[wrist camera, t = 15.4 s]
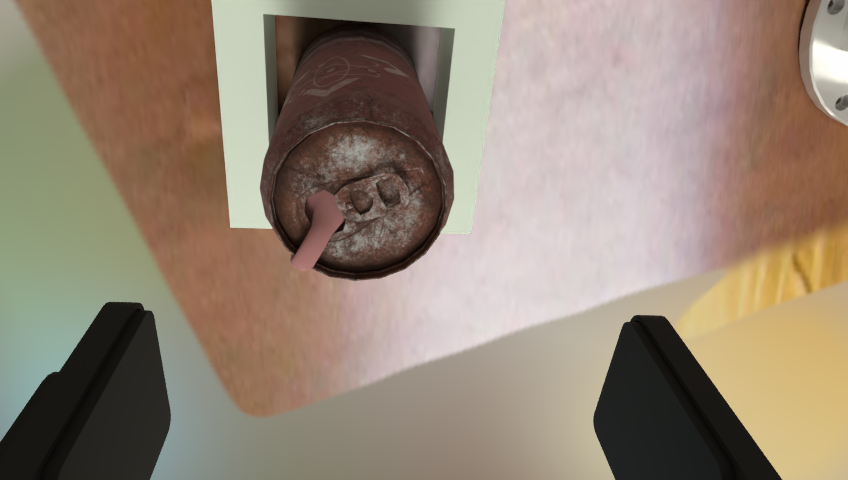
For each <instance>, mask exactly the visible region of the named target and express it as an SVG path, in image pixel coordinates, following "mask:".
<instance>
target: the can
mask: <svg viewBox="0 0 848 480" xmlns="http://www.w3.org/2000/svg"><path fill="white" fill-rule="evenodd" d="M260 193H261V198H262V203H263V207H264V212H265V216H266V218H267V220H268V221H269V223H270V225H271V226H272V228H273V230H274V231H275V233H276V235H277V236H278V238H279V240H280V241H281V242H282V243H283V245H284V246H285V248H286V249H287V250H288V251H289V252H290V253H291V259H290V262H291V265H292V266H293V267H294V268H296V269H298V270H300V271H306V270H308V269H310V268H311V269H314V270H316V271H318V272H320V273H322V274H325V275H327V276H329V277H334V278H341V279H347V280H353V281H359V280H369V279H379V278H383V277H386V276H388V275H391V274H394V273H396V272H399V271H402V270H404V269H406V268H407V267H409V266H410V265H411V264H413V263H414V262H415V261H417V260H418V259H419V258H421V257H422V256H423V255H425V254H426V252H427V251H428V250H429V248H430V247H431V246H432V244H433V243H434V241H435V240H436V239H437V237H438V236H439V235H440V232H441V231H442V229H443V228H444V226H445V225H446V223H447V220H448V217H449V214H450V210H451V207H452V204H453V201H454V171H453V169H452V166H451V164H450V161H449V158H448V156H447V153H446V150H445V148H444V145H443V143H442V140H441V137H440V135H439V132H438V129H437V127H436V124H435V122H434V119H433V116H432V114H431V111H430V108H429V106H428V103H427V101H426V98H425V95H424V93H423V90H422V87H421V85H420V82H419V80H418V77H417V74H416V72H415V69H414V67H413V64H412V61H411V59H410V56H409V55H408V54H407V53H406V51H405V50H404V49H403V48H402V46H401V45H400V44H399V43H398V41H396V40H395V39H393V38H392V37H390V36H389V35H387V34H386V33H384V32H383V31H381V30H379V29H375V28H371V27H367V26H363V25H350V26H339V27H337V28H335V29H332V30H330V31H328V32H325V33H323V34H321V35H320V36H319V37H318V38H317V39H316V40H315V41H314V42H312V43H311V44H310V45H309V46H308V47H307V48H306V50H305V52H304V54H303V56H302V58H301V60H300V62H299V63H298V65H297V68H296V71H295V74H294V77H293V80H292V82H291V85H290V88H289V91H288V94H287V96H286V99H285V102H284V105H283V108H282V110H281V113H280V116H279V119H278V122H277V124H276V127H275V130H274V133H273V136H272V138H271V141H270V144H269V147H268V150H267V152H266V155H265V158H264V162H263V169H262V175H261V182H260Z"/></svg>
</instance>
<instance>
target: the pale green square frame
mask: <svg viewBox="0 0 848 480" xmlns="http://www.w3.org/2000/svg"><path fill="white" fill-rule="evenodd" d="M504 6H505V0H212V12H213V24H214V36H215V48H216V60H217V72H218V84H219V96H220V108H221V120H222V132H223V144H224V156H225V168H226V180H227V192H228V204H229V216H230V227H231V228H267V229H273V228H272V226H271V225H270V223H269V221H268V220H267V218H266V216H265V212H264V207H263V203H262V198H261V193H260V182H261V175H262V169H263V162H264V158H265V155H266V152H267V150H268V147H269V144H270V141H271V138H272V136H273V133H274V130H275V127H276V124H277V122H278V119H279V116H278V87H277V58H276V28H275V15H284V16H298V17H311V18H324V19H337V20H351V21H364V22H377V23H390V24H403V25H417V26H430V27H441V37H440V47H439V57H438V67H437V78H436V88H435V98H434V108H433V119H434V122H435V124H436V127H437V129H438V132H439V135H440V137H441V140H442V143H443V145H444V148H445V150H446V153H447V156H448V158H449V161H450V164H451V166H452V169H453V171H454V201H453V204H452V207H451V210H450V214H449V217H448V220H447V223H446V225H445V226H444V228H443V229H442V231H441V232H440V233H451V234H471V232H472V225H473V218H474V211H475V204H476V197H477V190H478V184H479V177H480V170H481V163H482V156H483V149H484V143H485V136H486V129H487V122H488V115H489V108H490V101H491V95H492V88H493V81H494V74H495V67H496V60H497V53H498V47H499V40H500V33H501V26H502V19H503V12H504Z"/></svg>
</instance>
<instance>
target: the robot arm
mask: <svg viewBox="0 0 848 480" xmlns="http://www.w3.org/2000/svg"><path fill="white" fill-rule="evenodd" d="M799 62H800V71H801V77H802V80H803V82H804V85H805V88H806V91H807V93H808V95H809V96H810V98H811V99H812V100H813V102H814V103H815V105H816V106H817V107H818V108H819V109H820V110H821V111H823V112H824V113H825V114H826V115H827V116H829V117H830V118H832V119H834V120H836V121H838V122H841V123H843V124H845V125H847V126H848V0H810V2H809V4H808V7H807V10H806V14H805V18H804V21H803V25H802V29H801V34H800V46H799ZM170 420H171V414H170V406H169V401H168V395H167V389H166V383H165V378H164V371H163V366H162V360H161V355H160V349H159V342H158V337H157V331H156V326H155V319H154V315H153V313H152V311H145V310H144V308H143V306H142V304H141V303H131V302H108V303H106V304H105V305H104V306H103V307H102V309H101V310H100V312H99V313H98V315H97V316H96V318H95V319H94V321H93V322H92V324H91V325H90V327H89V328H88V330H87V331H86V333H85V334H84V336H83V337H82V339H81V341H80V342H79V343H78V345H77V346H76V348H75V349H74V351H73V352H72V354H71V355H70V357H69V358H68V360H67V361H66V363H65V364H64V366H63V367H62V369H61V370H60V371H59V372H53V373H51V374H49V375H48V376H47V377H46V378H45V379H44V380H43V381H42V383H41V384H40V386H39V387H38V389H37V390H36V391H35V393H34V394H33V396H32V397H31V399H30V400H29V402H28V403H27V404H26V406H25V407H24V409H23V410H22V412H21V413H20V414H19V416H18V417H17V419H16V420H15V422H14V423H13V425H12V426H11V428H10V429H9V430H8V432H7V433H6V435H5V436H4V438H3V439H2V441H1V442H0V480H150V478H151V475H152V473H153V470H154V467H155V465H156V462H157V460H158V457H159V454H160V452H161V449H162V447H163V444H164V441H165V439H166V436H167V434H168V431H169V427H170ZM593 422H594V429H595V432H596V435H597V438H598V440H599V442H600V444H601V447H602V449H603V451H604V454H605V456H606V459H607V461H608V463H609V466H610V468H611V470H612V473H613V475H614V477H615V480H782V479H781V477H780V476H779V475H778V473H777V472H776V470H775V469H774V468H773V466H772V465H771V463H770V462H769V461H768V460H767V458H766V456H765V455H764V454H763V452H762V451H761V449H760V448H759V447H758V445H757V444H756V443H755V441H754V440H753V438H752V437H751V436H750V434H749V433H748V431H747V430H746V429H745V427H744V426H743V424H742V423H741V422H740V420H739V419H738V417H737V416H736V415H735V413H734V412H733V410H732V409H731V408H730V407H729V405H728V403H727V402H726V401H725V399H724V398H723V397H722V395H721V394H720V392H719V391H718V389H717V388H716V387H715V385H714V384H713V383H712V381H711V380H710V378H709V377H708V376H707V374H706V373H705V371H704V370H703V369H702V367H701V366H700V364H699V363H698V362H697V360H696V359H695V357H694V356H693V355H692V353H691V352H690V350H689V349H688V348H687V346H686V345H685V343H684V342H683V341H682V339H681V338H680V336H679V335H678V334H677V332H676V331H675V330H674V328H673V327H672V325H671V324H670V323H669V321H668V320H667V319H666V318H665V317H663V316H650V315H636V316H634V317H633V318H632V319H631V321H630V322H626V323H624V324H623V327H622V329H621V333H620V335H619V339H618V342H617V345H616V348H615V351H614V354H613V357H612V360H611V363H610V366H609V370H608V373H607V376H606V379H605V382H604V385H603V388H602V391H601V395H600V398H599V401H598V404H597V407H596V410H595V413H594V420H593Z"/></svg>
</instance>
